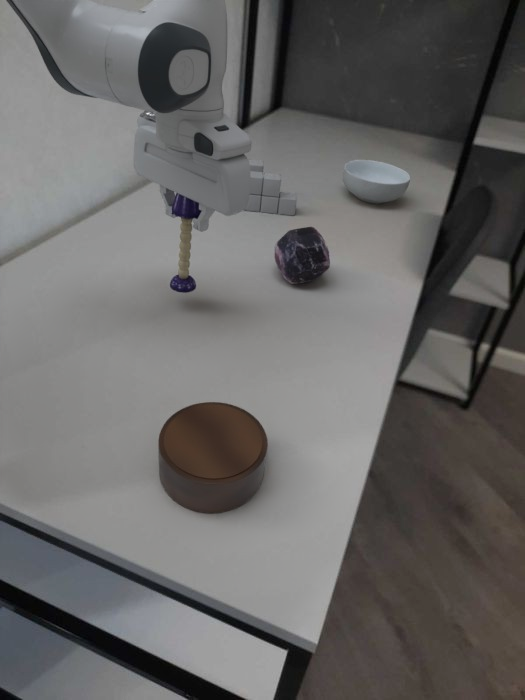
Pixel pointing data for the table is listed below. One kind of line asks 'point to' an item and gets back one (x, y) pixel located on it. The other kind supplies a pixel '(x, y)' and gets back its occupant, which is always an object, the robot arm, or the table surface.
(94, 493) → the table surface
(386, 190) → the cereal bowl
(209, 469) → the wooden drum
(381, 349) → the table surface
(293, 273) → the mineral specimen
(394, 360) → the table surface
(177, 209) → the toy lamp
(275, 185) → the grey stepped block
